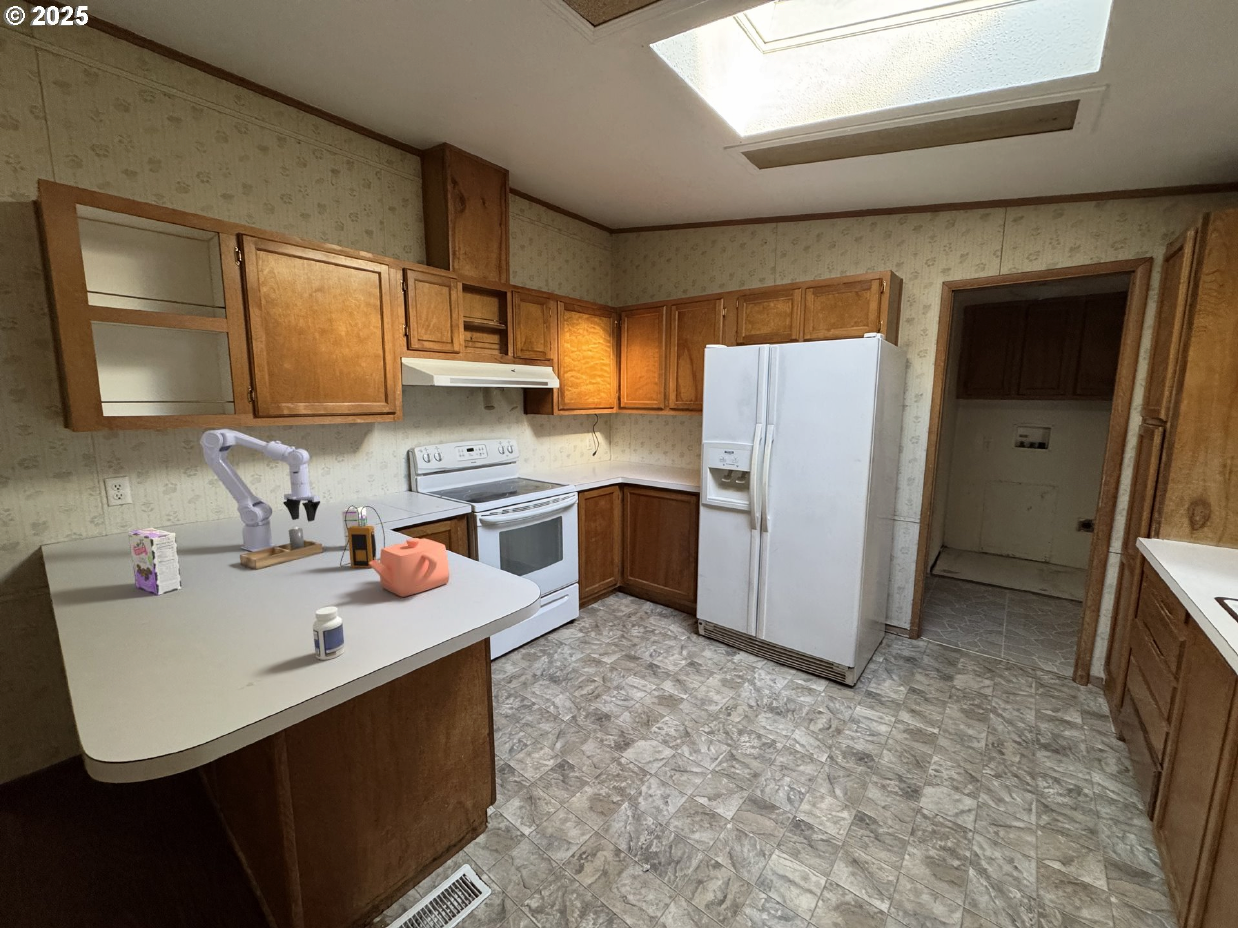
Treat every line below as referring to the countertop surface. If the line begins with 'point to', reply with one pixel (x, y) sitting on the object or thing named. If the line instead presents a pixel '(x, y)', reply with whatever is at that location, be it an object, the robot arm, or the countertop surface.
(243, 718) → the countertop surface
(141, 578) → the candy box
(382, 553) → the teapot
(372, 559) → the multimeter
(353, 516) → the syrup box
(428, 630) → the countertop surface
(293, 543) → the battery cell
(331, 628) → the pill bottle
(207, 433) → the robot arm
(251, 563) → the cell tray
